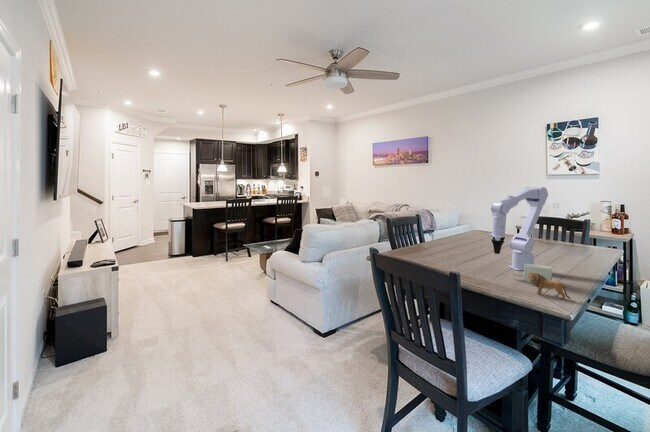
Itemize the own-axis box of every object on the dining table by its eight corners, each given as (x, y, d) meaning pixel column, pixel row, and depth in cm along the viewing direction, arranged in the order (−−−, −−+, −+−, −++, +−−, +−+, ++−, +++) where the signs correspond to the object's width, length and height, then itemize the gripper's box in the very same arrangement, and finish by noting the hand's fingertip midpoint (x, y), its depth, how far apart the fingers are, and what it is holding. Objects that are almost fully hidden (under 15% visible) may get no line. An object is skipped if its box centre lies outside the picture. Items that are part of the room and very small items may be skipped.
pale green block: (523, 281, 146) (524, 266, 145) (523, 276, 152) (524, 263, 151) (551, 284, 140) (552, 270, 140) (549, 280, 147) (550, 266, 146)
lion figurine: (526, 293, 130) (527, 272, 129) (527, 290, 134) (528, 269, 133) (570, 301, 121) (572, 279, 120) (570, 297, 126) (572, 276, 125)
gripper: (491, 223, 165) (489, 248, 167) (489, 227, 153) (487, 254, 155) (506, 224, 162) (504, 250, 163) (505, 228, 149) (503, 255, 151)
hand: (497, 252), depth 159 cm, fingers open, 7 cm apart
